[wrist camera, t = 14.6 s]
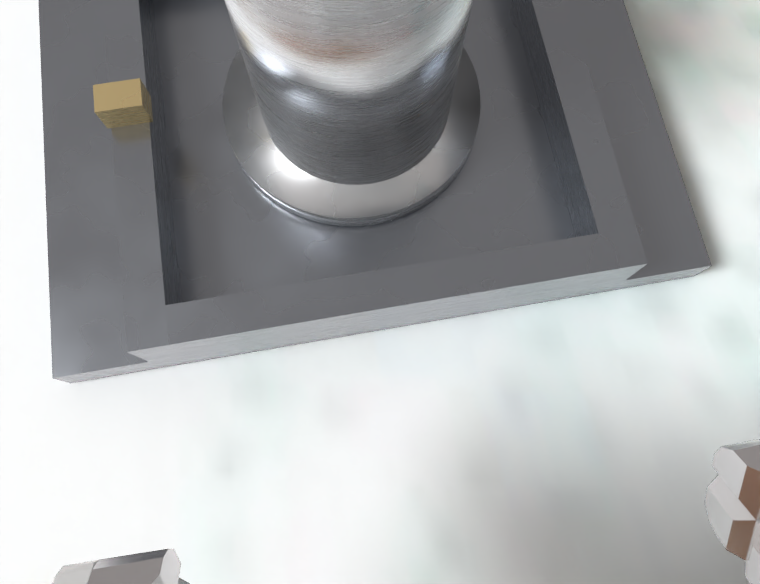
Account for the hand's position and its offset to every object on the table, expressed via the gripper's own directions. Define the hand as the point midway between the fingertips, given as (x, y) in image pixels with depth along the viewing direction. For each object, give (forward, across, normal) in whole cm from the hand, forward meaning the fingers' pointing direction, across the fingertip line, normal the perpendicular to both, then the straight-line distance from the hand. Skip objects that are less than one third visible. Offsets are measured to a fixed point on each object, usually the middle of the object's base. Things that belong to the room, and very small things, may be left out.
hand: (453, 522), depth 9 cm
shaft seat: (+13, 0, -3) cm, 13 cm away
